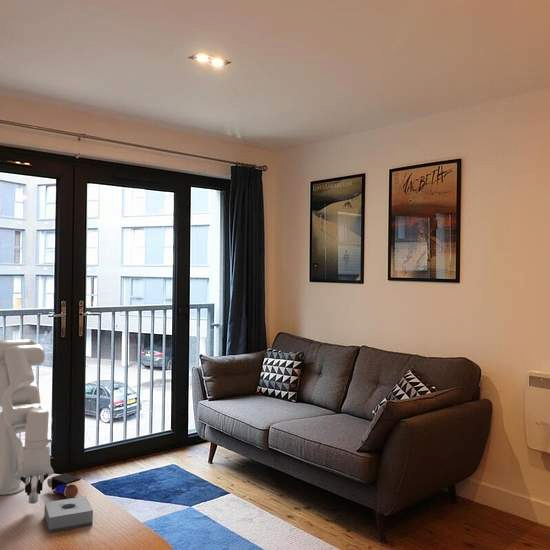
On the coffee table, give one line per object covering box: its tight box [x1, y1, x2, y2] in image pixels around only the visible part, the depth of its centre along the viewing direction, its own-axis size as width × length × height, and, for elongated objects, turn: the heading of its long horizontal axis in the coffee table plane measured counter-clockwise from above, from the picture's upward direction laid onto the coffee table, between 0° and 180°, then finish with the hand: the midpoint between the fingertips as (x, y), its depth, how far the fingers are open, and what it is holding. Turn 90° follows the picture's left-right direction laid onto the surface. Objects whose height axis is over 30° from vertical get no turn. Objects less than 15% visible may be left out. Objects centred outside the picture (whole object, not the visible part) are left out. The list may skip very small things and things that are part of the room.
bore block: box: [43, 495, 94, 533], centre depth 192 cm, size 14×14×5 cm
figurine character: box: [46, 472, 82, 499], centre depth 216 cm, size 7×8×15 cm
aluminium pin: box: [28, 475, 40, 505], centre depth 199 cm, size 3×3×11 cm
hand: (33, 493), depth 199 cm, fingers closed on aluminium pin, 3 cm apart
